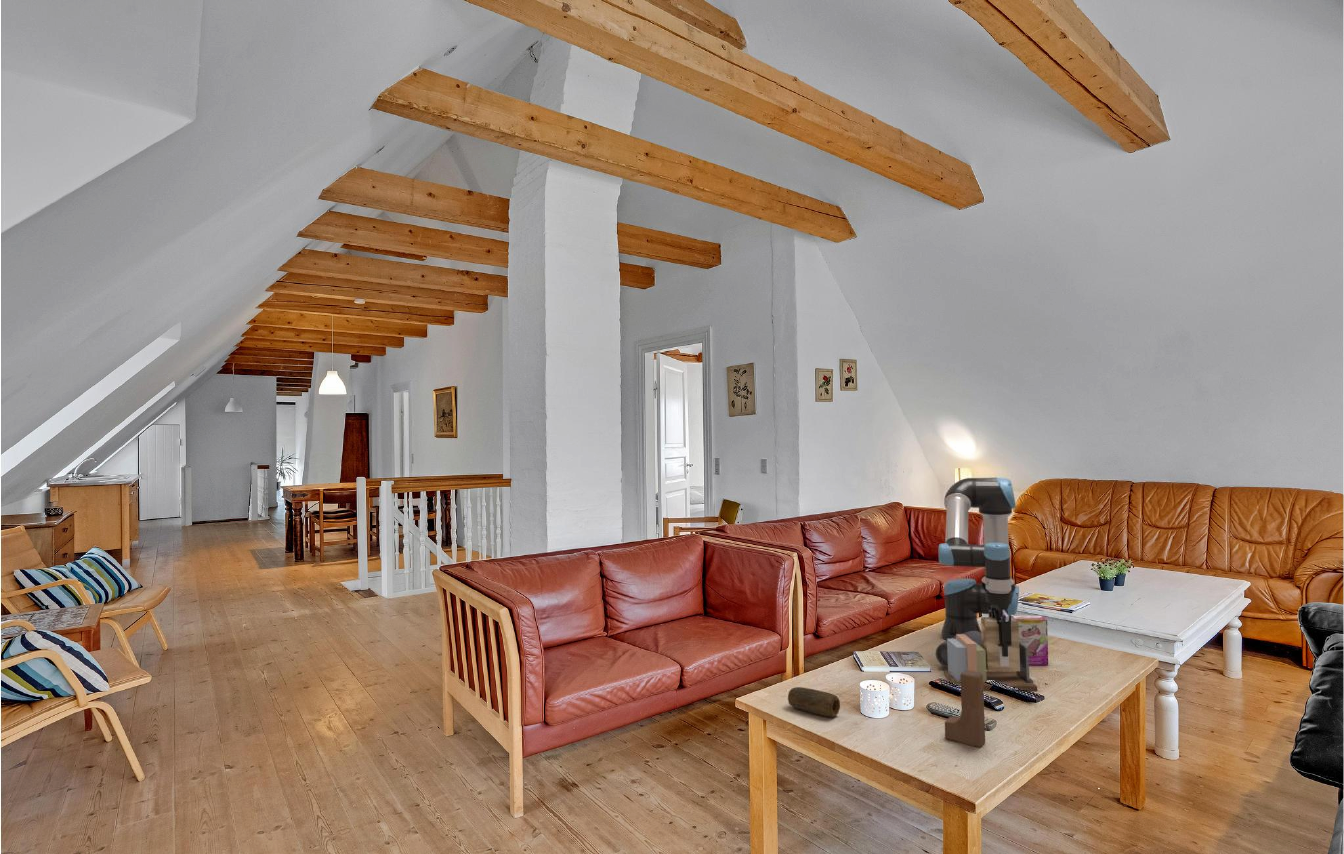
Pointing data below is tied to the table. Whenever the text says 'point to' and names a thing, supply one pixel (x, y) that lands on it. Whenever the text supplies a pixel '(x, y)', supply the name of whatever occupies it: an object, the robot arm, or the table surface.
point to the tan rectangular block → (992, 640)
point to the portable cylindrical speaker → (814, 701)
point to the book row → (965, 656)
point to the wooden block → (969, 712)
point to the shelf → (1000, 680)
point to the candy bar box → (1034, 637)
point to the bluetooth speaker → (942, 648)
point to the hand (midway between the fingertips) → (1001, 663)
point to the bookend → (1024, 664)
